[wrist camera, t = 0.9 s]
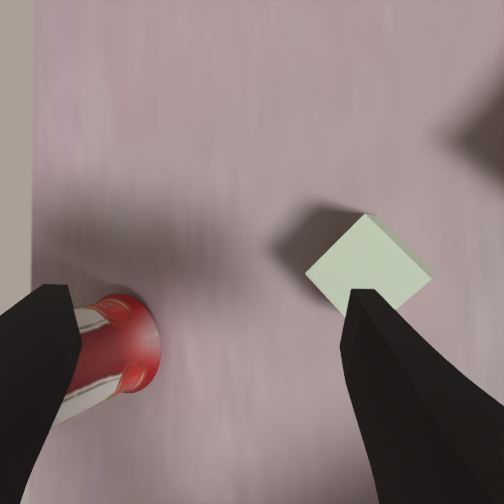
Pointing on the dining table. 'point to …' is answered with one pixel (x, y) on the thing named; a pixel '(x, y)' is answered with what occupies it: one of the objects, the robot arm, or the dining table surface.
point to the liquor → (111, 353)
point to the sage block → (370, 265)
